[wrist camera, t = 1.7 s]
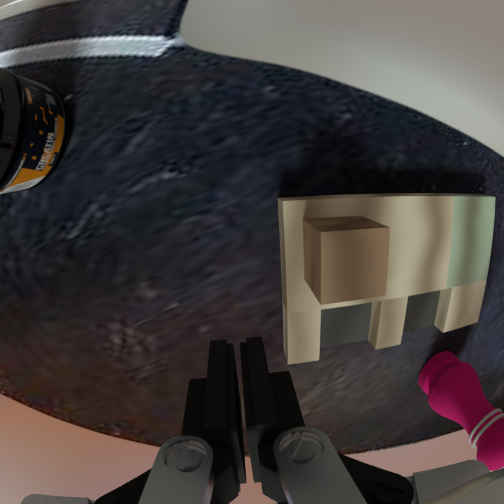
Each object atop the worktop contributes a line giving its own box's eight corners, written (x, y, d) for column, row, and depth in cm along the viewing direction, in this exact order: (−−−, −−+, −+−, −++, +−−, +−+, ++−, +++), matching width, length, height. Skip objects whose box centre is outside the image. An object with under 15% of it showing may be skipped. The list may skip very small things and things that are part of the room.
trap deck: (480, 194, 27) (495, 197, 24) (465, 313, 31) (477, 322, 28) (277, 198, 25) (282, 201, 23) (283, 350, 29) (288, 364, 27)
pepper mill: (454, 337, 31) (550, 429, 12) (457, 371, 33) (534, 457, 14) (411, 367, 32) (497, 479, 13) (417, 398, 34) (486, 499, 15)
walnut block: (360, 215, 24) (389, 227, 19) (359, 273, 25) (385, 295, 20) (302, 219, 23) (320, 232, 19) (304, 279, 25) (320, 304, 20)
